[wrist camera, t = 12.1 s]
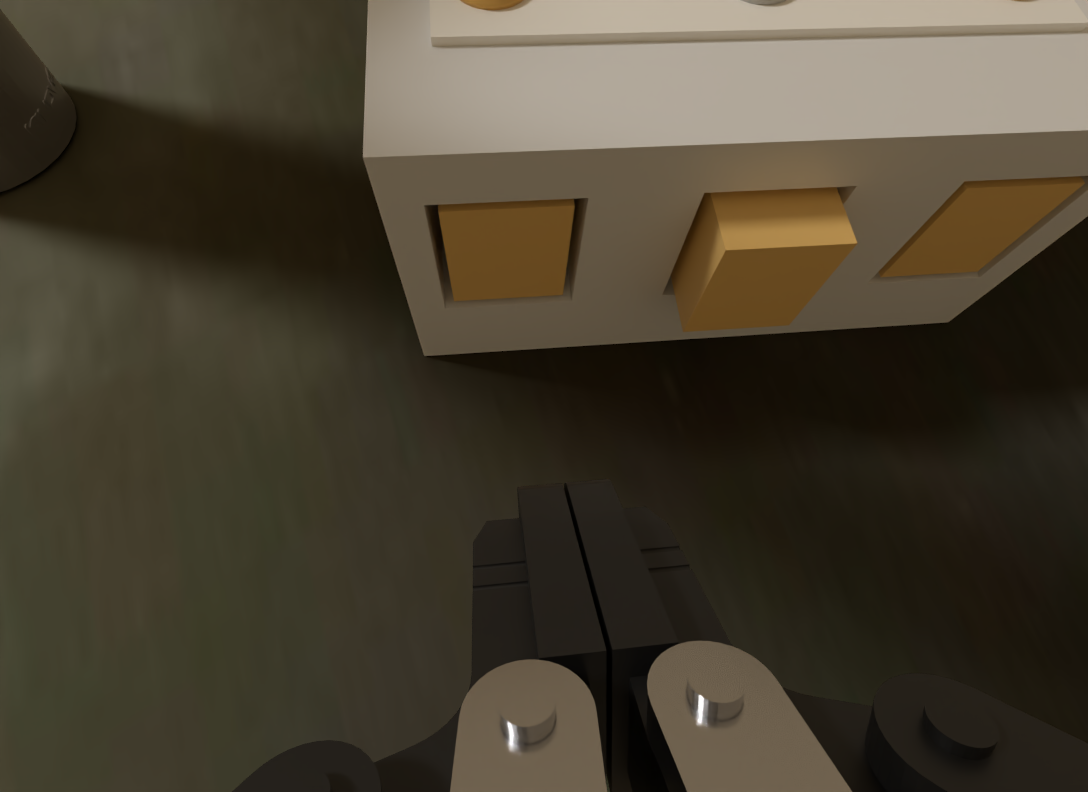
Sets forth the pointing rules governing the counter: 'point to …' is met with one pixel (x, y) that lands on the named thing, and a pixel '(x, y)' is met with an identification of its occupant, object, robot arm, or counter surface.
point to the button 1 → (507, 247)
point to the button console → (711, 142)
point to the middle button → (758, 256)
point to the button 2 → (978, 224)
